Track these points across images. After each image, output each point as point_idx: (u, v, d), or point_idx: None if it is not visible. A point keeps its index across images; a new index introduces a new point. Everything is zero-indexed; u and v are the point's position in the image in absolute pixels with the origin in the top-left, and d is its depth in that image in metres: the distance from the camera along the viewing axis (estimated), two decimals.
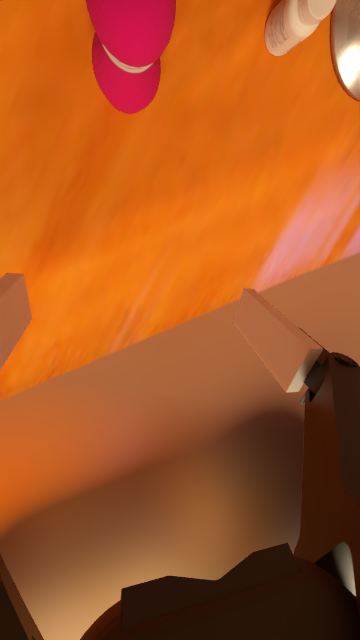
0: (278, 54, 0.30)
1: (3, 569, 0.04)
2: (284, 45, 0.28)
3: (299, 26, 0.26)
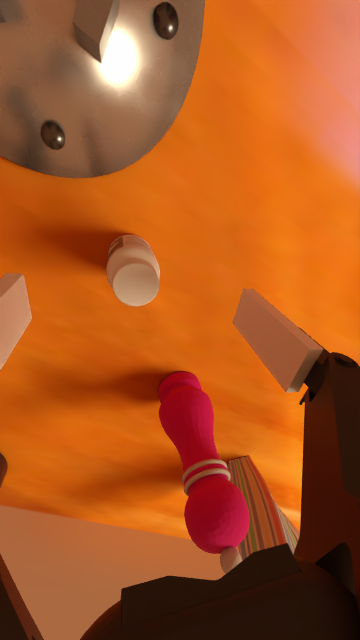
0: None
1: (3, 569, 0.04)
2: None
3: None
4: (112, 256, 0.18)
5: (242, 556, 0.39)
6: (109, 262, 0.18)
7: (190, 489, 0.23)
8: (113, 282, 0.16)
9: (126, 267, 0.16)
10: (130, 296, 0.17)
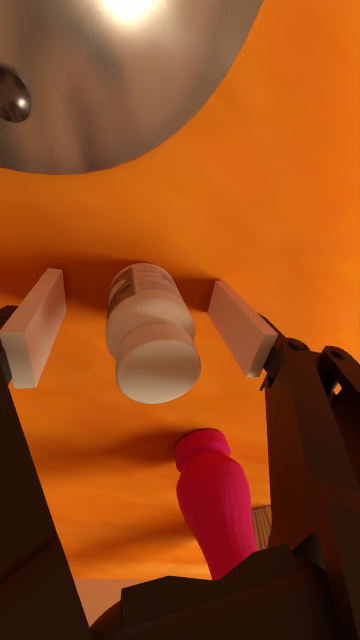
0: None
1: None
2: None
3: None
4: (116, 313, 0.10)
5: None
6: (110, 323, 0.10)
7: None
8: (117, 373, 0.09)
9: (144, 348, 0.08)
10: (147, 390, 0.09)
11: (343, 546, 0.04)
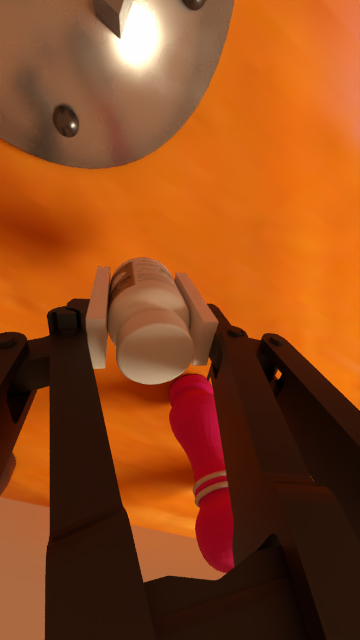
0: None
1: None
2: None
3: None
4: (117, 301, 0.11)
5: None
6: (112, 311, 0.11)
7: (202, 501, 0.22)
8: (118, 354, 0.10)
9: (142, 331, 0.09)
10: (145, 371, 0.10)
11: (303, 546, 0.04)
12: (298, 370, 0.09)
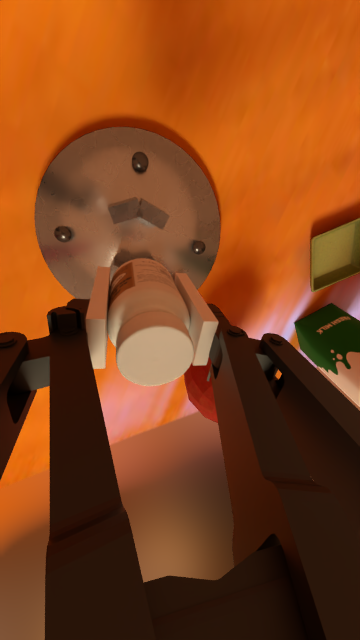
0: None
1: None
2: None
3: None
4: (116, 302, 0.11)
5: None
6: (111, 312, 0.11)
7: None
8: (118, 355, 0.10)
9: (142, 333, 0.09)
10: (145, 373, 0.10)
11: (303, 546, 0.04)
12: (298, 370, 0.09)
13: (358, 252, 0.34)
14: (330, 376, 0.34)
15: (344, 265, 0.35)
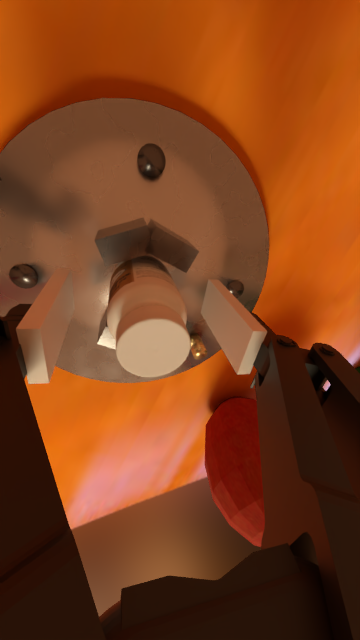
0: None
1: None
2: None
3: None
4: (116, 297, 0.12)
5: None
6: (111, 306, 0.12)
7: None
8: (117, 347, 0.10)
9: (141, 325, 0.10)
10: (143, 364, 0.11)
11: (336, 545, 0.04)
12: (348, 381, 0.09)
13: None
14: None
15: None
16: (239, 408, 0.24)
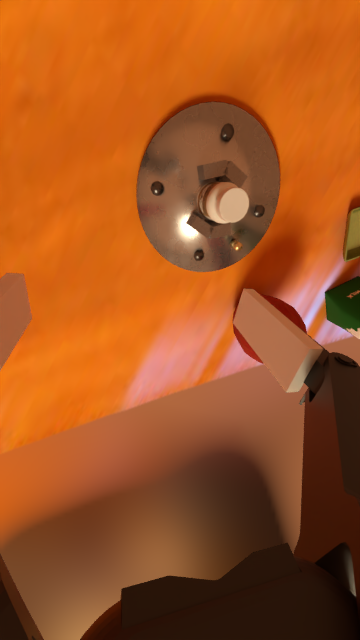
0: None
1: (3, 569, 0.04)
2: None
3: None
4: (215, 187, 0.26)
5: None
6: (212, 192, 0.26)
7: None
8: (221, 200, 0.24)
9: (232, 190, 0.24)
10: (228, 213, 0.25)
11: None
12: None
13: None
14: (359, 334, 0.39)
15: None
16: None
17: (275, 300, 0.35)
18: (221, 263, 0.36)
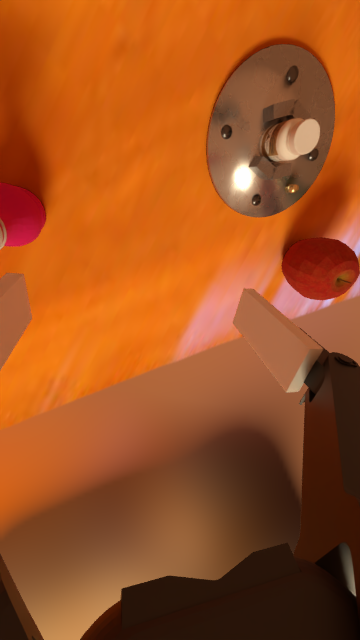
0: None
1: (3, 569, 0.04)
2: None
3: None
4: (286, 123, 0.29)
5: None
6: (284, 127, 0.29)
7: None
8: (296, 131, 0.27)
9: (307, 121, 0.27)
10: (301, 144, 0.28)
11: None
12: None
13: None
14: None
15: None
16: None
17: (328, 238, 0.38)
18: (275, 208, 0.39)
